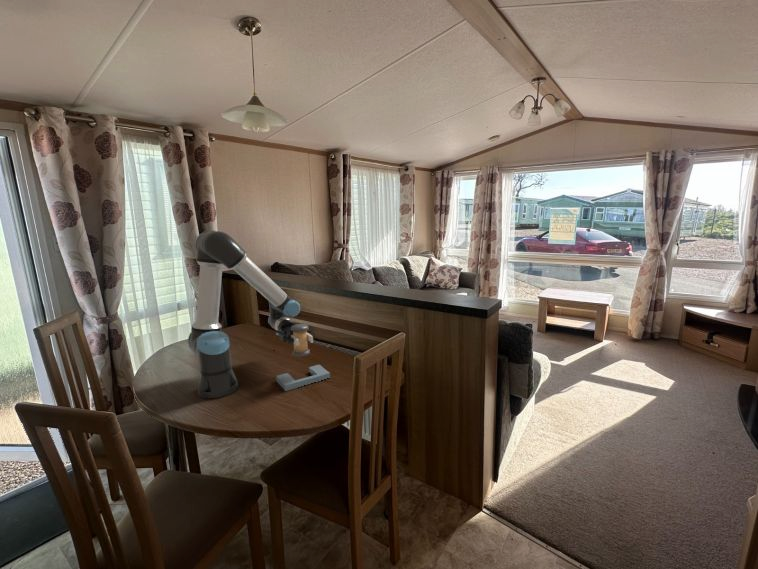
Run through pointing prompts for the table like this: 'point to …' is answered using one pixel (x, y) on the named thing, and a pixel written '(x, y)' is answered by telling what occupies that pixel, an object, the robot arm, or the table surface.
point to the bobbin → (300, 340)
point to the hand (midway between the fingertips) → (305, 341)
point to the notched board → (290, 383)
